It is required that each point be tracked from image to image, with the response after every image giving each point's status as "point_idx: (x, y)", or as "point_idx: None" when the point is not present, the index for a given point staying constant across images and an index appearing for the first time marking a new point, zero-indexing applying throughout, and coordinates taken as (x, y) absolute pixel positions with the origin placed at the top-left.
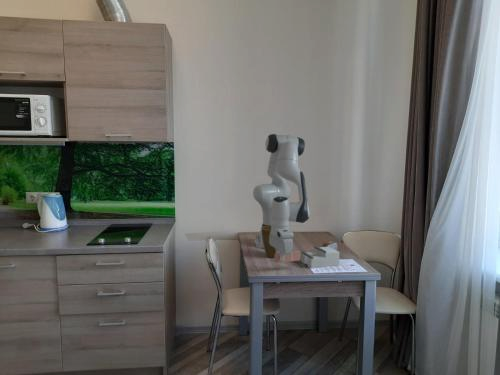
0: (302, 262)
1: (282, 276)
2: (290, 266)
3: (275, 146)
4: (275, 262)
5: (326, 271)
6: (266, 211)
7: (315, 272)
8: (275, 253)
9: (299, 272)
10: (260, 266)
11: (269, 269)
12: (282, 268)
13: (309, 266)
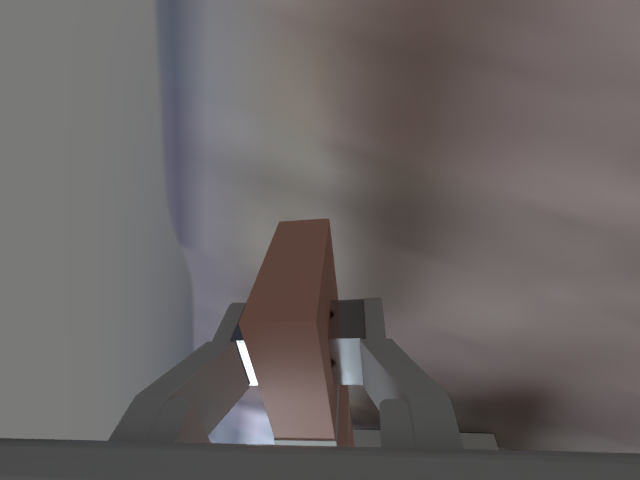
0: (471, 433)
1: (172, 199)
2: (421, 342)
3: None
4: (291, 223)
5: None
6: None
7: (253, 419)
8: (271, 325)
9: None
10: (578, 32)
11: (406, 130)
12: (392, 270)
13: (358, 434)
